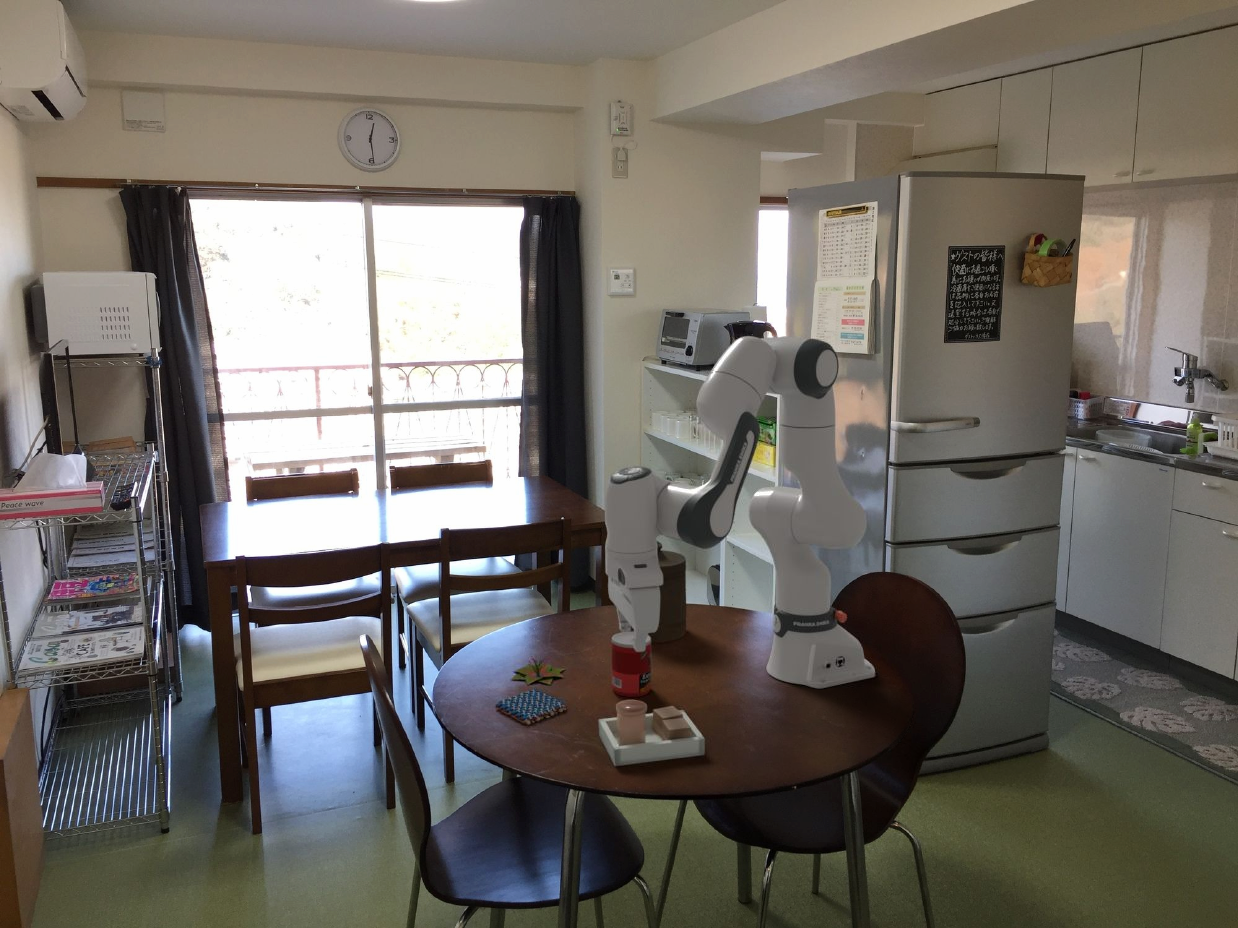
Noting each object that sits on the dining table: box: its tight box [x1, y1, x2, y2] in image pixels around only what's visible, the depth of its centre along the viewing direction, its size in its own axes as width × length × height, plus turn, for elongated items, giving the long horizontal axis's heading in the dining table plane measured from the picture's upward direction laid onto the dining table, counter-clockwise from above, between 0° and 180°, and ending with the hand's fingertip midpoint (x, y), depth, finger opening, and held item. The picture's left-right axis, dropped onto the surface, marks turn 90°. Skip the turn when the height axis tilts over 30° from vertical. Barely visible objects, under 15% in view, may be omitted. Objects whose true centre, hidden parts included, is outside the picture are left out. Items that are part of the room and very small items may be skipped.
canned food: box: [611, 631, 652, 698], centre depth 193 cm, size 8×8×11 cm
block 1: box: [652, 705, 683, 738], centre depth 173 cm, size 4×4×4 cm
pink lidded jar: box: [615, 699, 648, 746], centre depth 169 cm, size 5×5×7 cm
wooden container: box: [630, 540, 687, 644], centre depth 225 cm, size 15×15×22 cm
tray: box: [598, 709, 706, 767], centre depth 170 cm, size 16×12×3 cm
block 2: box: [662, 718, 691, 741], centre depth 169 cm, size 4×4×4 cm
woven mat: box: [494, 687, 568, 725], centre depth 185 cm, size 10×11×2 cm
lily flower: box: [509, 653, 566, 686], centre depth 201 cm, size 12×12×5 cm
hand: (631, 640), depth 166 cm, fingers open, 8 cm apart
